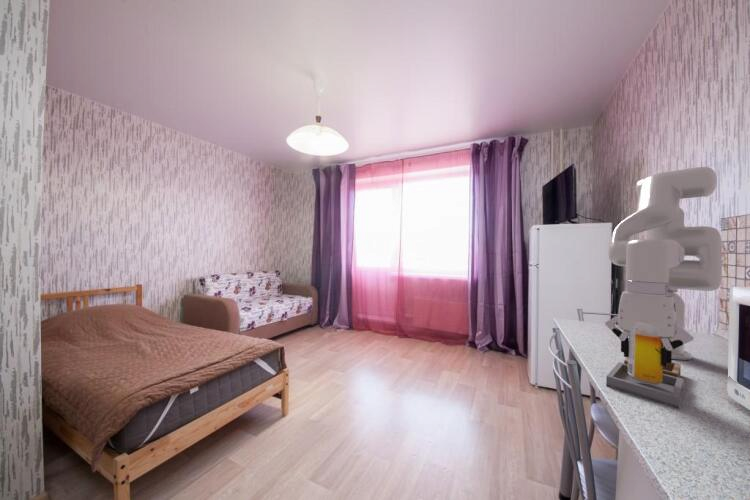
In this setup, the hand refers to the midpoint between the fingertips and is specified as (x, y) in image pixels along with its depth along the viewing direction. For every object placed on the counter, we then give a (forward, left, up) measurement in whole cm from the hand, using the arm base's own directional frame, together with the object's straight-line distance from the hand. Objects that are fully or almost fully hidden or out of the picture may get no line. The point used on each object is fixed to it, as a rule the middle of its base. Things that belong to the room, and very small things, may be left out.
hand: (645, 359), depth 66 cm
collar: (-13, 0, -7) cm, 15 cm away
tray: (0, 0, -7) cm, 7 cm away
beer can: (0, 0, -5) cm, 5 cm away
